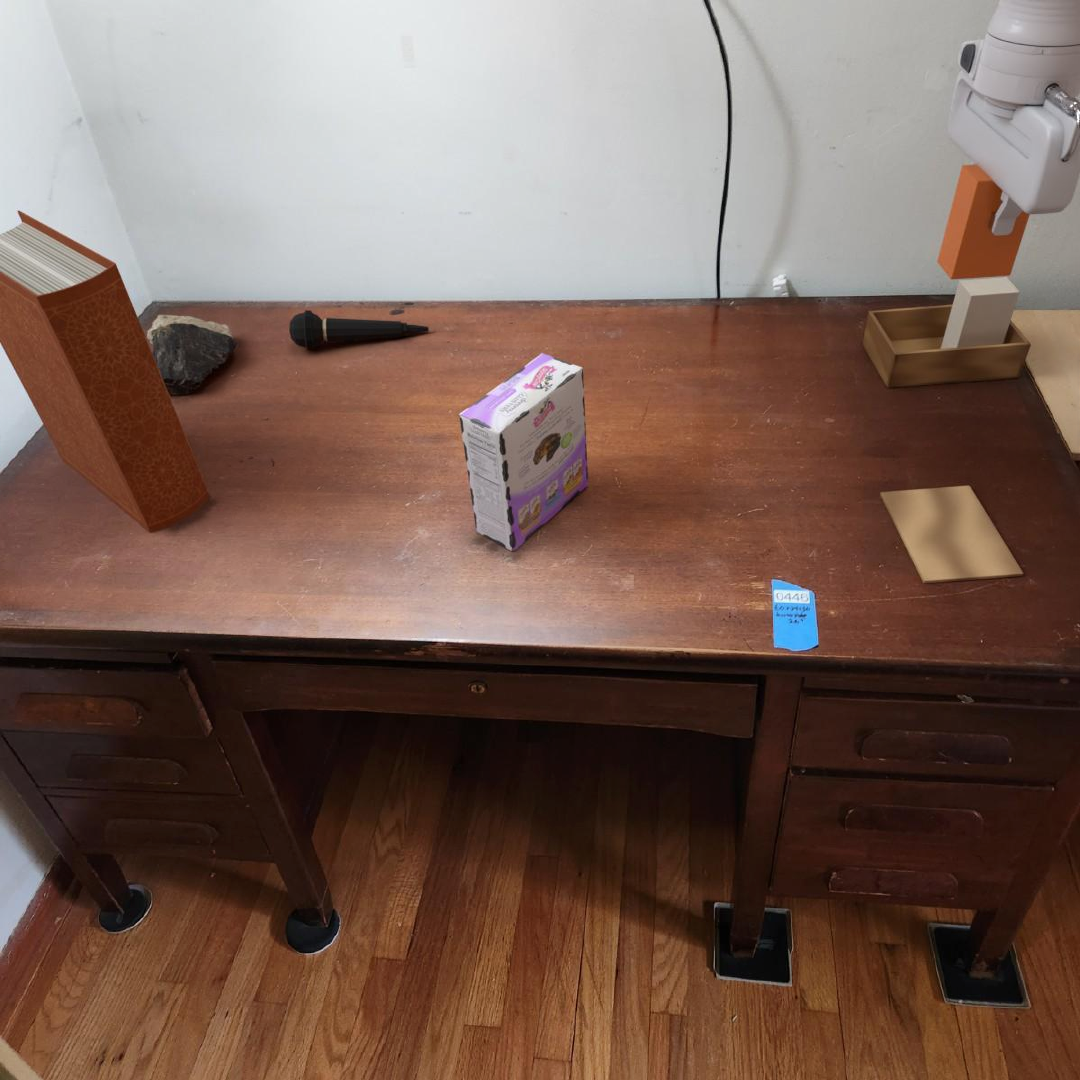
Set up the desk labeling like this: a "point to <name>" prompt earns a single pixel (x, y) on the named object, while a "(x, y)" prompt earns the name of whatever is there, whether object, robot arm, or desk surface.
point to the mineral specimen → (188, 350)
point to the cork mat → (949, 535)
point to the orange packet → (978, 230)
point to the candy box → (526, 449)
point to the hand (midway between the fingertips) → (987, 220)
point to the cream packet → (980, 313)
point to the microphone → (344, 329)
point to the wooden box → (935, 350)
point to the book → (94, 375)
